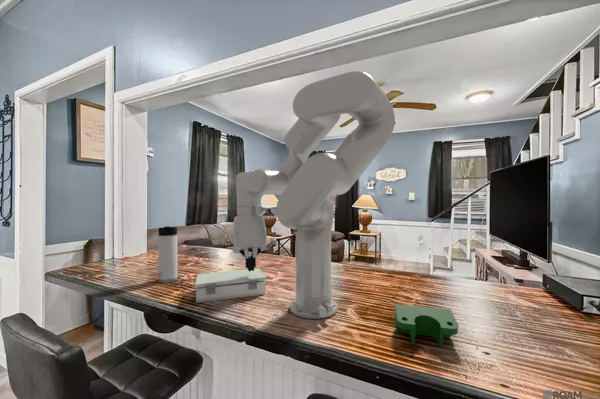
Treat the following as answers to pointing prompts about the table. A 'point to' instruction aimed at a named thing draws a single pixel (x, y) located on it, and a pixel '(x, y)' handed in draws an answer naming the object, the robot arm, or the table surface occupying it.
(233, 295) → the white latched case
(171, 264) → the travel mug
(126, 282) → the table surface
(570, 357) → the table surface
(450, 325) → the clamp
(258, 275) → the cover
